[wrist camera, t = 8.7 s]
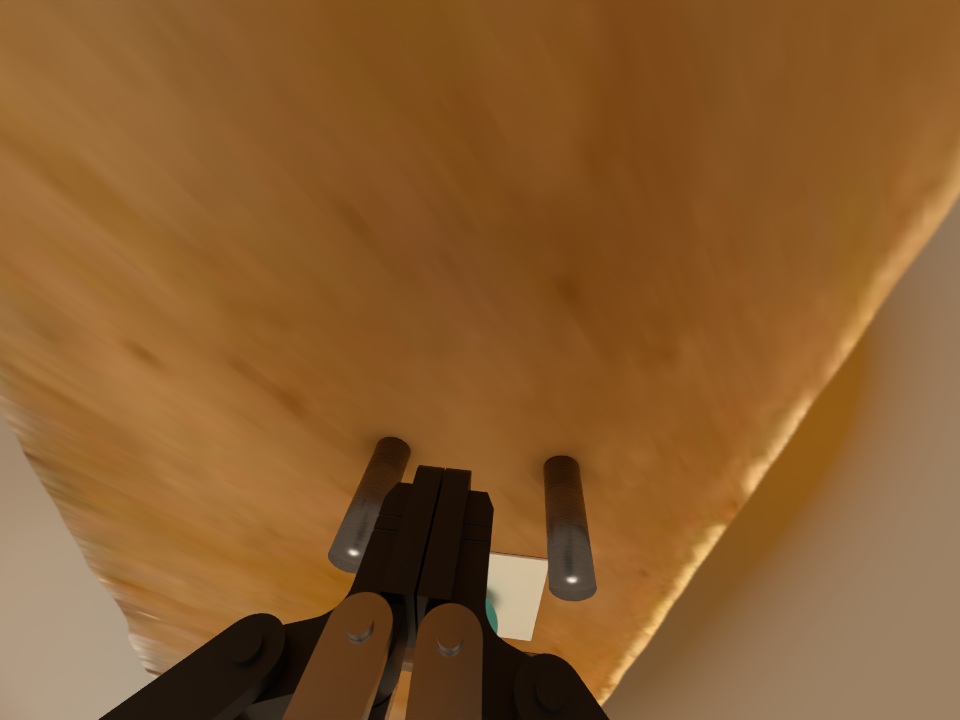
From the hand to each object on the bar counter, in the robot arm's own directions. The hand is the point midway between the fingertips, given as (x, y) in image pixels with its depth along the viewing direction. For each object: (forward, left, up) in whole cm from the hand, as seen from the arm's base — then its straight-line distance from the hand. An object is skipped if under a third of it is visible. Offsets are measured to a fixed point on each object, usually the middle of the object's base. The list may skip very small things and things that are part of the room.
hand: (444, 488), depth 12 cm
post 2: (+13, +6, -15) cm, 21 cm away
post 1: (+13, -6, -15) cm, 21 cm away
